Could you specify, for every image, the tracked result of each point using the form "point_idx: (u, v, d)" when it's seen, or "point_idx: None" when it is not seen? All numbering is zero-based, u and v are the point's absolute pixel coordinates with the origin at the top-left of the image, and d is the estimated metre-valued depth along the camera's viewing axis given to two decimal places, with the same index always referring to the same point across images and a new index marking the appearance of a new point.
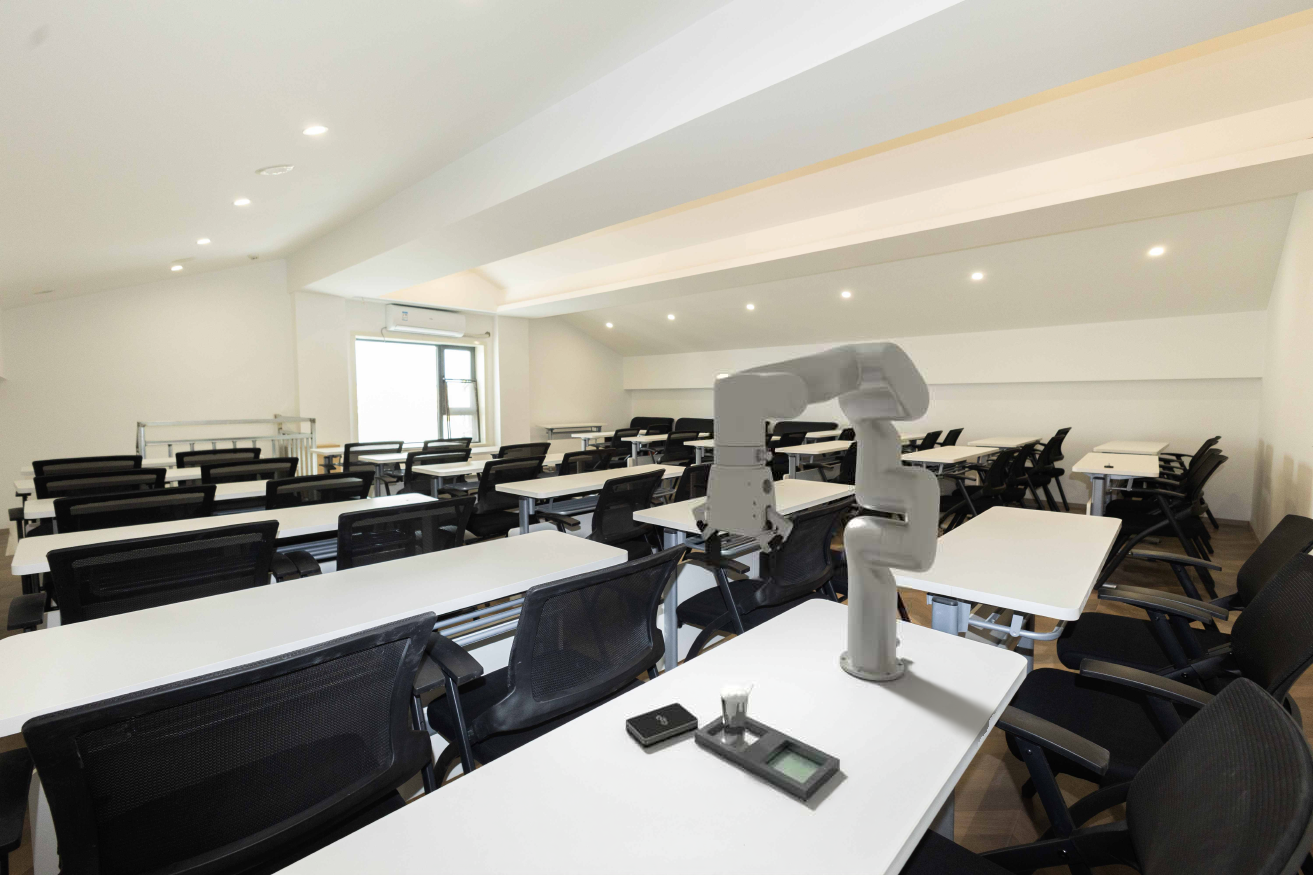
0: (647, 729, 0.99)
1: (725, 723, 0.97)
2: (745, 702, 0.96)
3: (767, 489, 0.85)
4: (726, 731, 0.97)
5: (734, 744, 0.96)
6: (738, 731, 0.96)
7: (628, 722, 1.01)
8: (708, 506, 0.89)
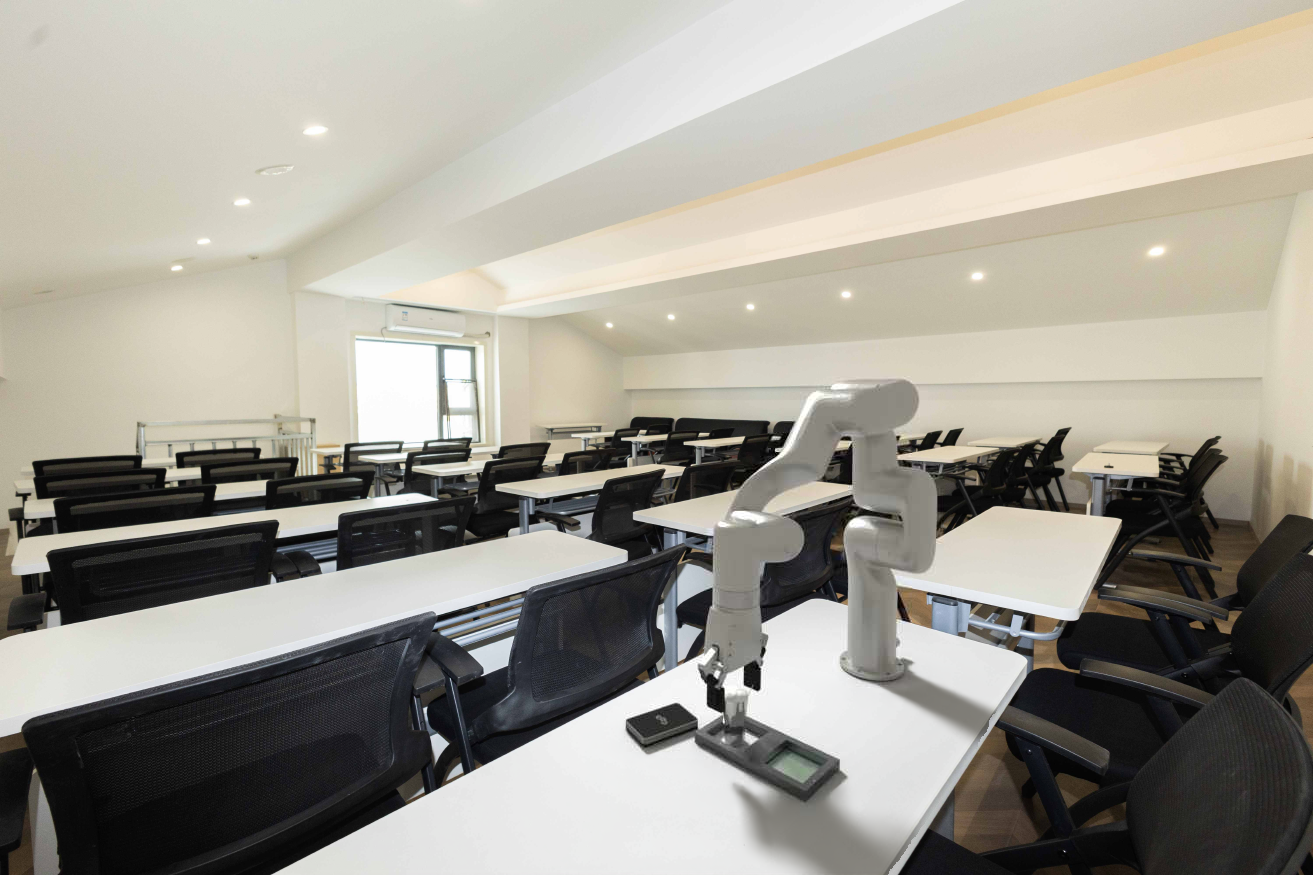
0: (647, 729, 0.99)
1: (725, 723, 0.97)
2: (745, 702, 0.96)
3: None
4: (726, 731, 0.97)
5: (734, 744, 0.96)
6: (738, 731, 0.96)
7: (628, 722, 1.01)
8: (729, 653, 0.92)
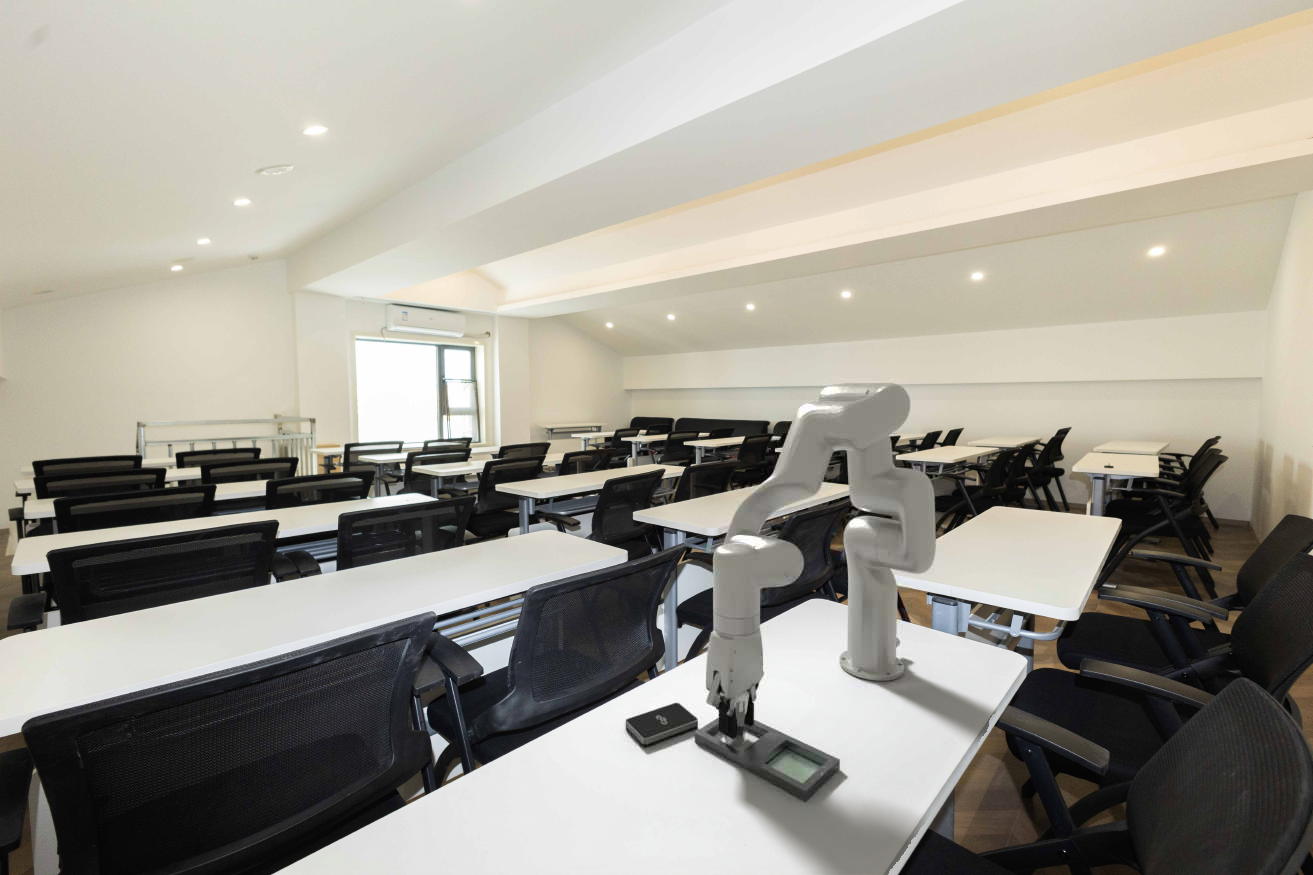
0: (646, 729, 0.99)
1: None
2: (746, 701, 0.96)
3: None
4: None
5: (734, 743, 0.96)
6: (738, 730, 0.96)
7: (628, 722, 1.01)
8: (731, 679, 0.92)
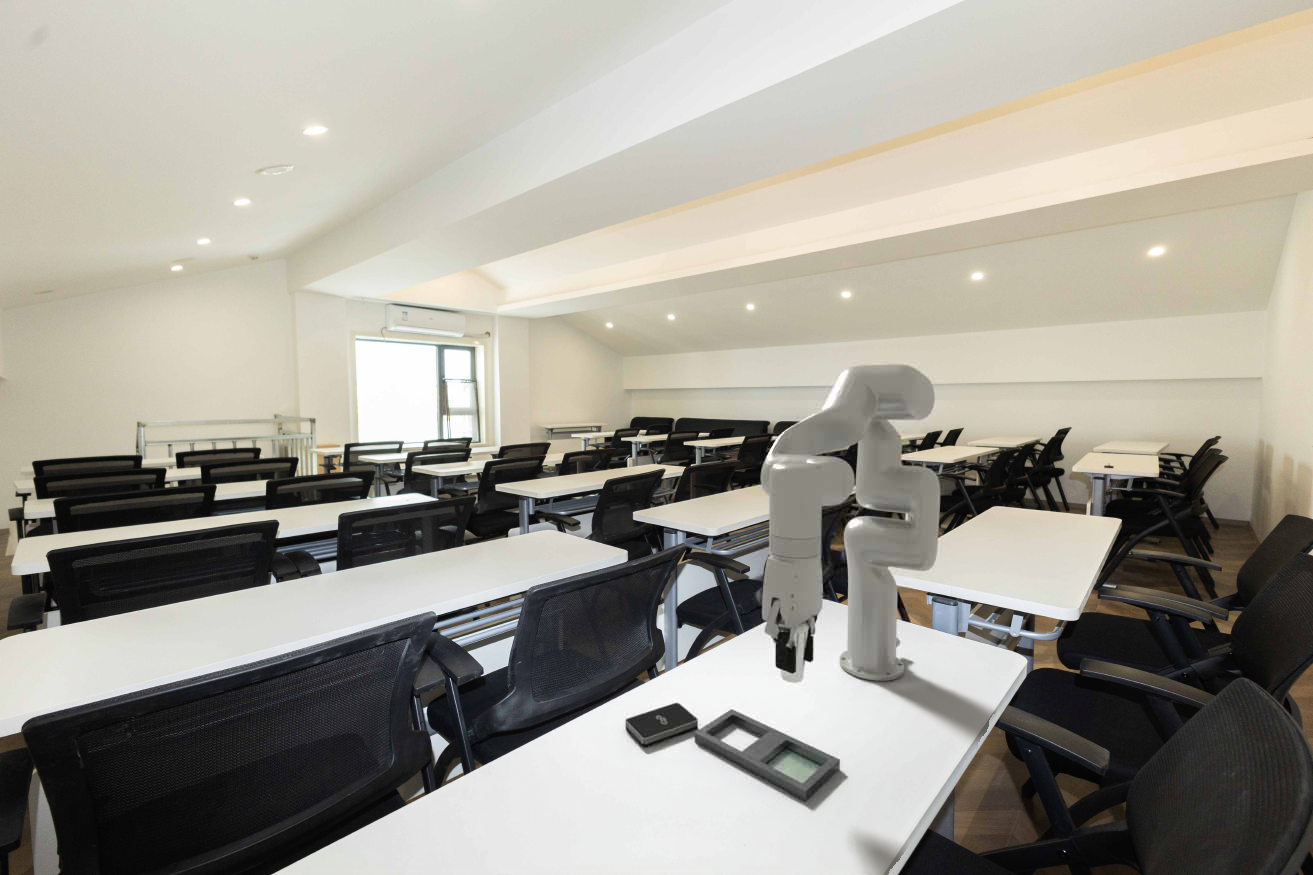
0: (646, 729, 0.99)
1: None
2: (806, 633, 0.87)
3: None
4: None
5: (793, 680, 0.88)
6: (797, 665, 0.87)
7: (628, 721, 1.01)
8: (791, 606, 0.84)
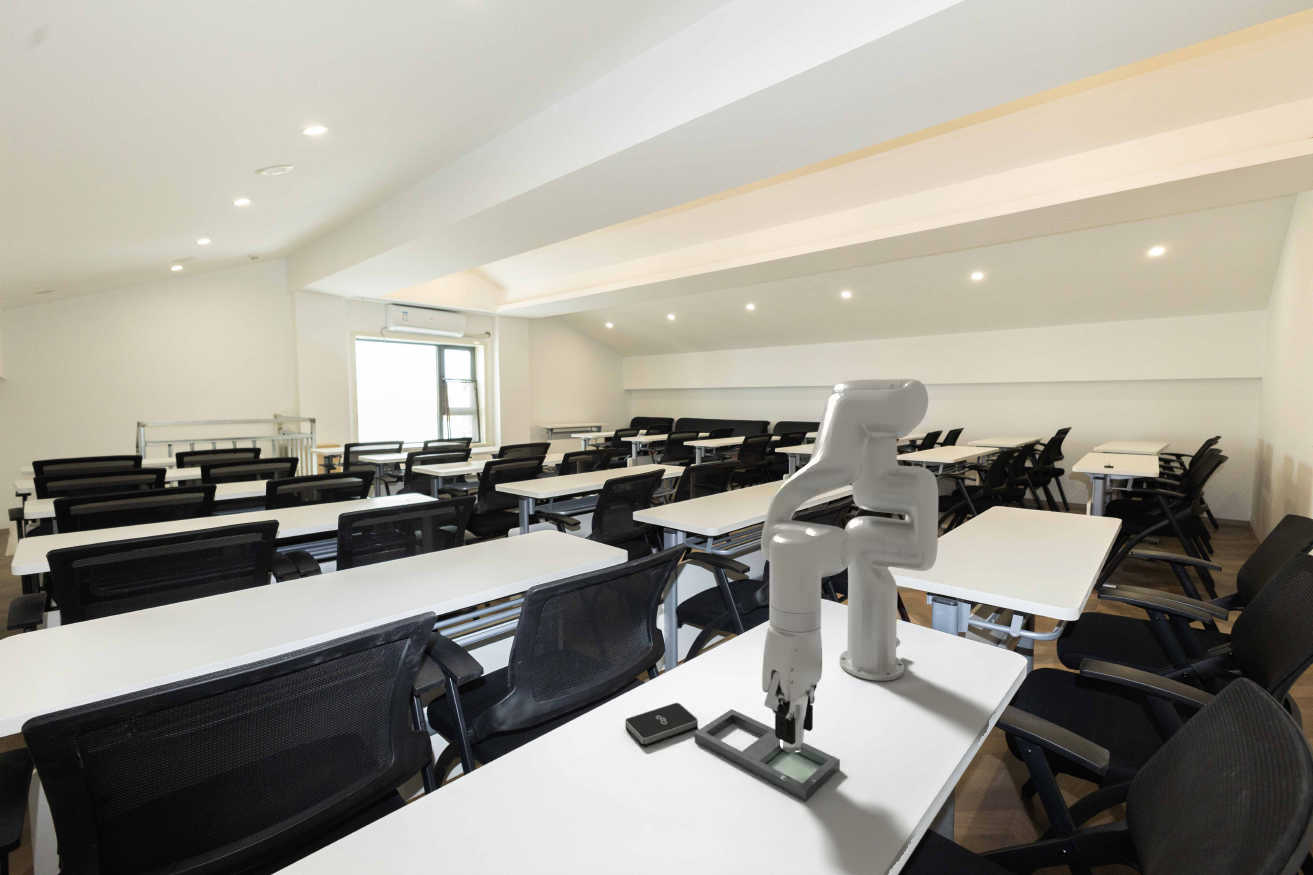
0: (646, 729, 0.99)
1: None
2: (805, 704, 0.88)
3: None
4: None
5: (792, 750, 0.88)
6: (797, 736, 0.88)
7: (628, 721, 1.01)
8: (791, 680, 0.84)
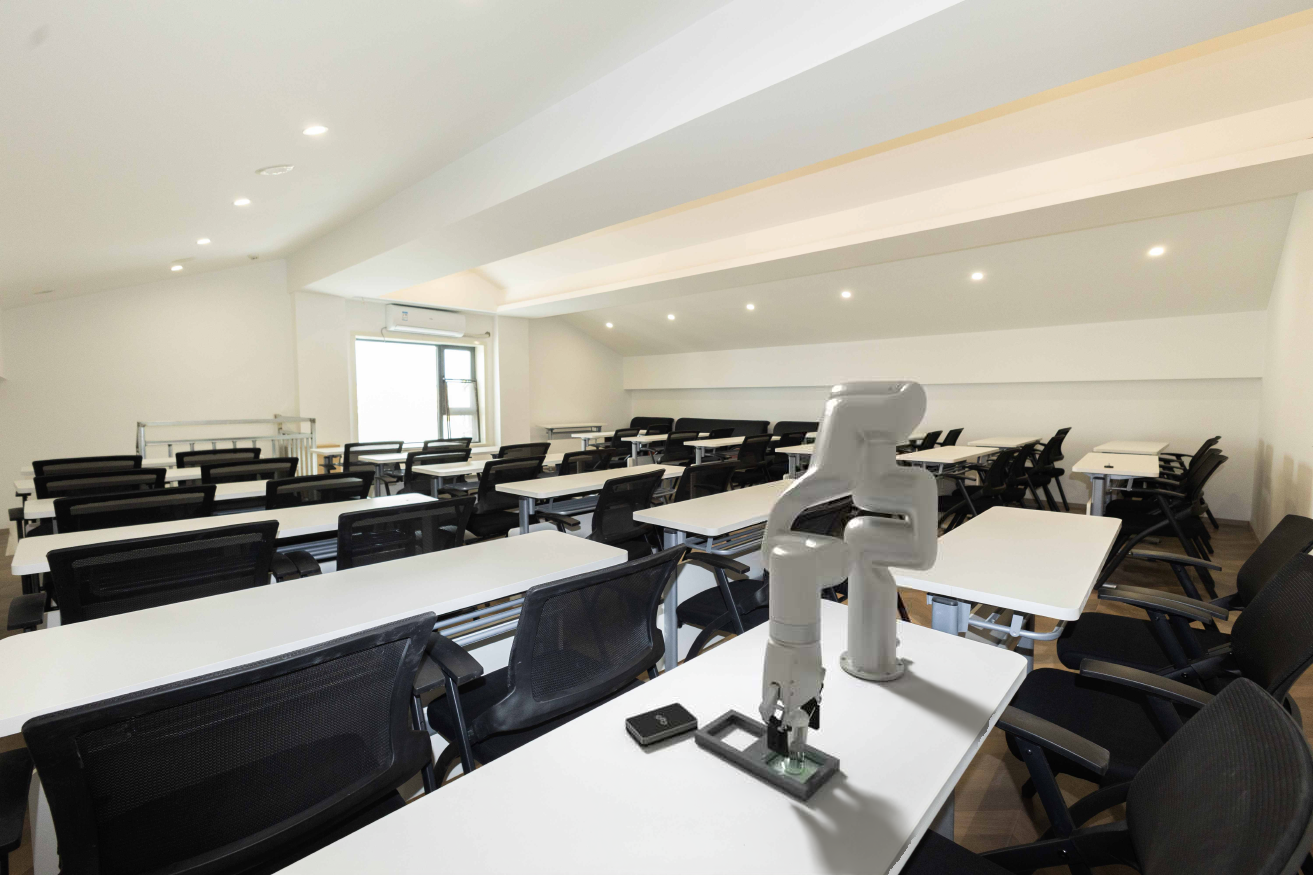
0: (646, 729, 0.99)
1: None
2: (806, 726, 0.88)
3: None
4: (785, 757, 0.89)
5: (794, 771, 0.89)
6: (798, 757, 0.89)
7: (628, 721, 1.01)
8: (791, 691, 0.85)
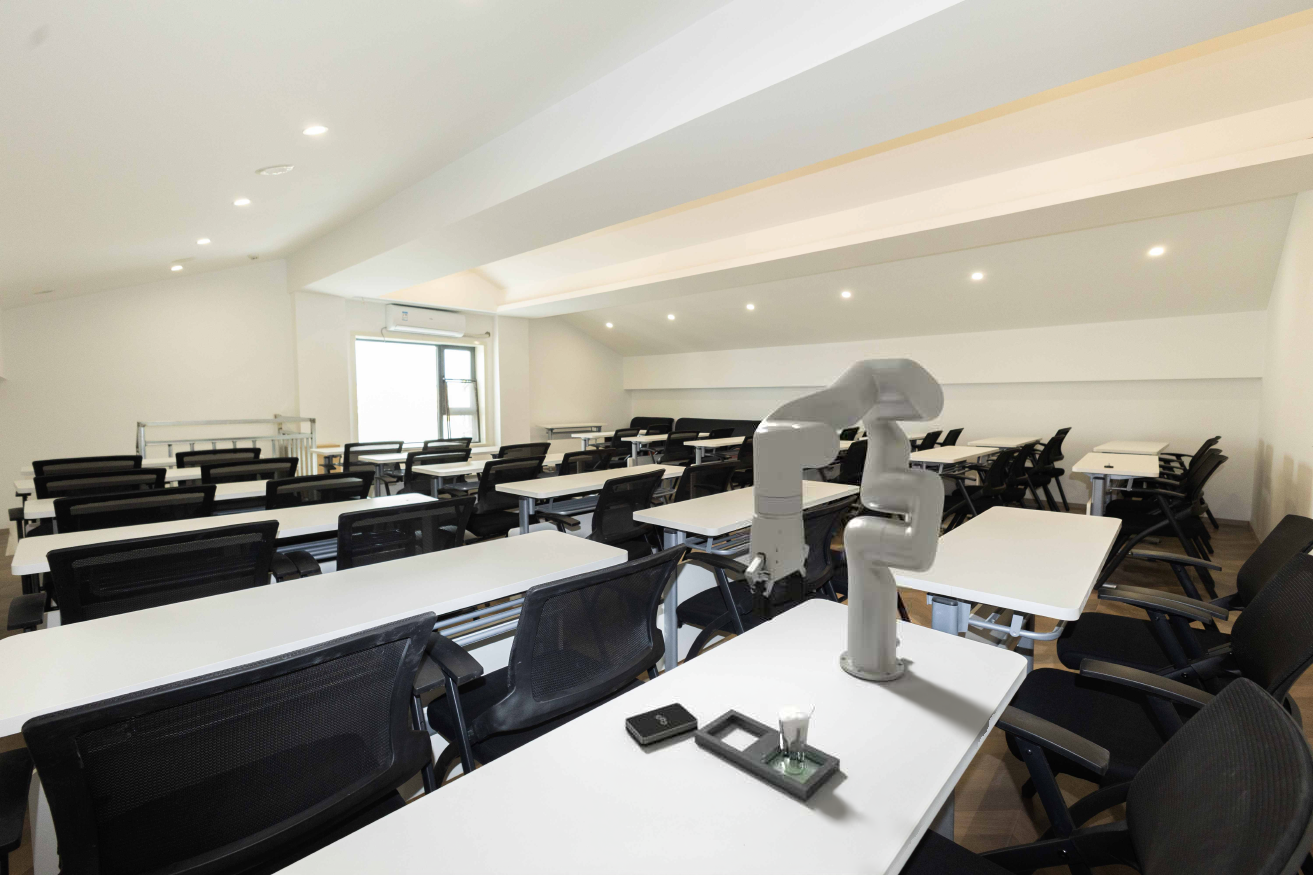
0: (646, 728, 0.99)
1: (783, 748, 0.89)
2: (806, 726, 0.88)
3: None
4: (785, 757, 0.89)
5: (794, 771, 0.89)
6: (798, 757, 0.89)
7: (628, 721, 1.01)
8: (776, 560, 0.90)
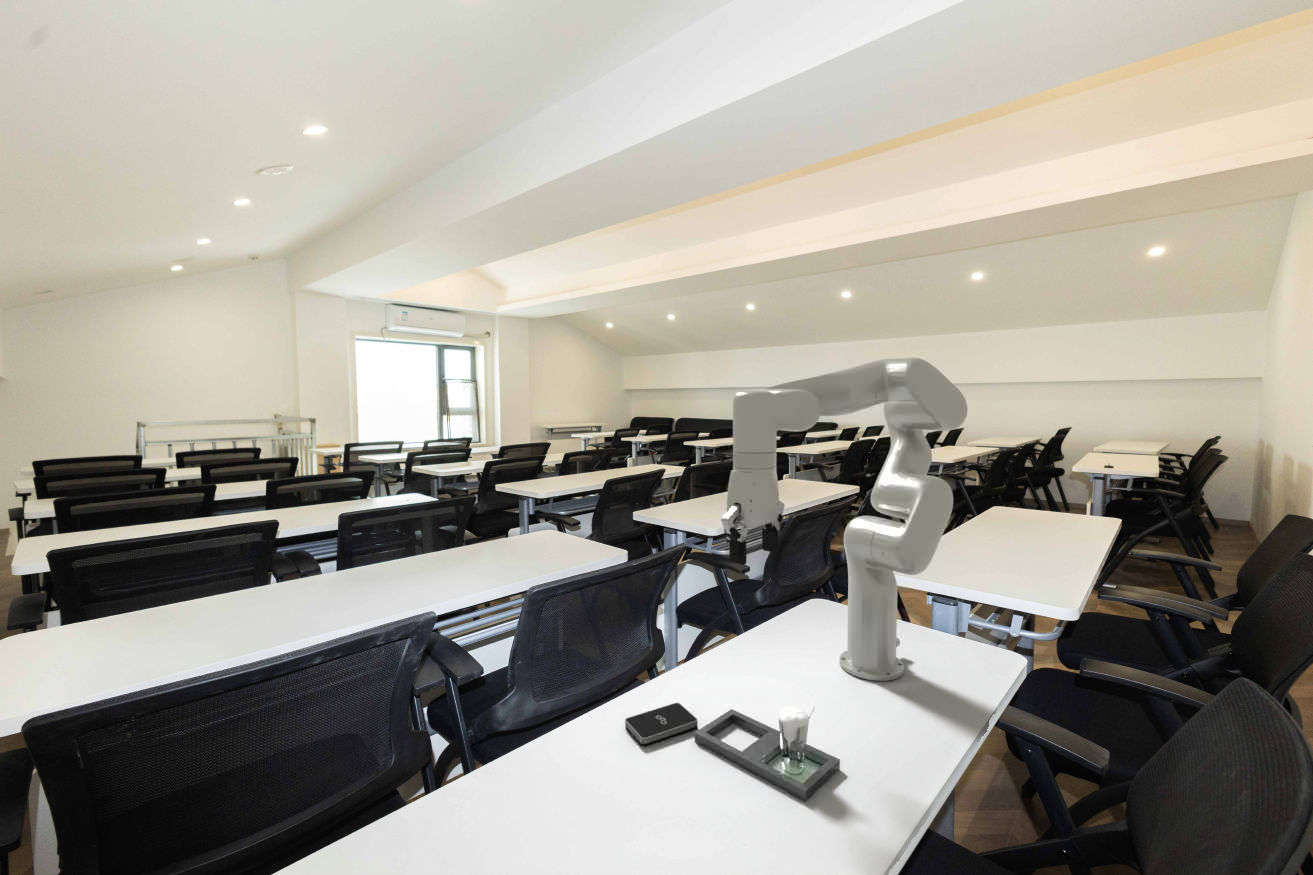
0: (646, 728, 0.99)
1: (783, 748, 0.89)
2: (806, 726, 0.88)
3: None
4: (784, 757, 0.89)
5: (794, 771, 0.89)
6: (798, 757, 0.89)
7: (627, 721, 1.01)
8: (750, 509, 1.00)
